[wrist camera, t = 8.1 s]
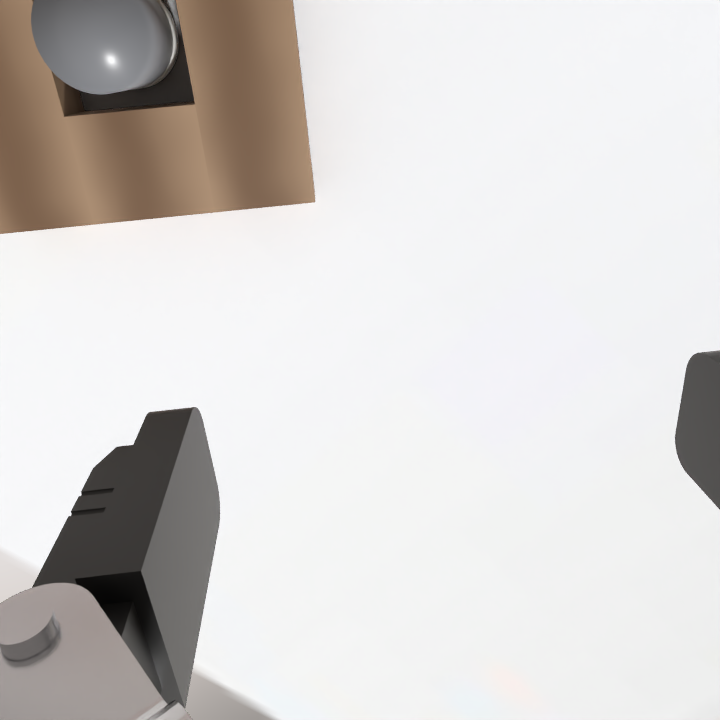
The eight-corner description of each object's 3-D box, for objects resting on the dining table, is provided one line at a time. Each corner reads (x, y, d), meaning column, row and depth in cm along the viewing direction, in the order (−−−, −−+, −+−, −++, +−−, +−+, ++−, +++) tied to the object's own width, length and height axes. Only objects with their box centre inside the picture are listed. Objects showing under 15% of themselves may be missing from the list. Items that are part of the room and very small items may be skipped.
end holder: (271, -187, 27) (267, -213, 24) (314, 190, 34) (315, 202, 31) (-108, -156, 27) (-154, -180, 24) (16, 220, 34) (-9, 234, 31)
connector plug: (168, -22, 29) (134, -40, 24) (188, 83, 31) (161, 90, 26) (71, -13, 29) (13, -29, 23) (97, 92, 31) (49, 101, 25)
